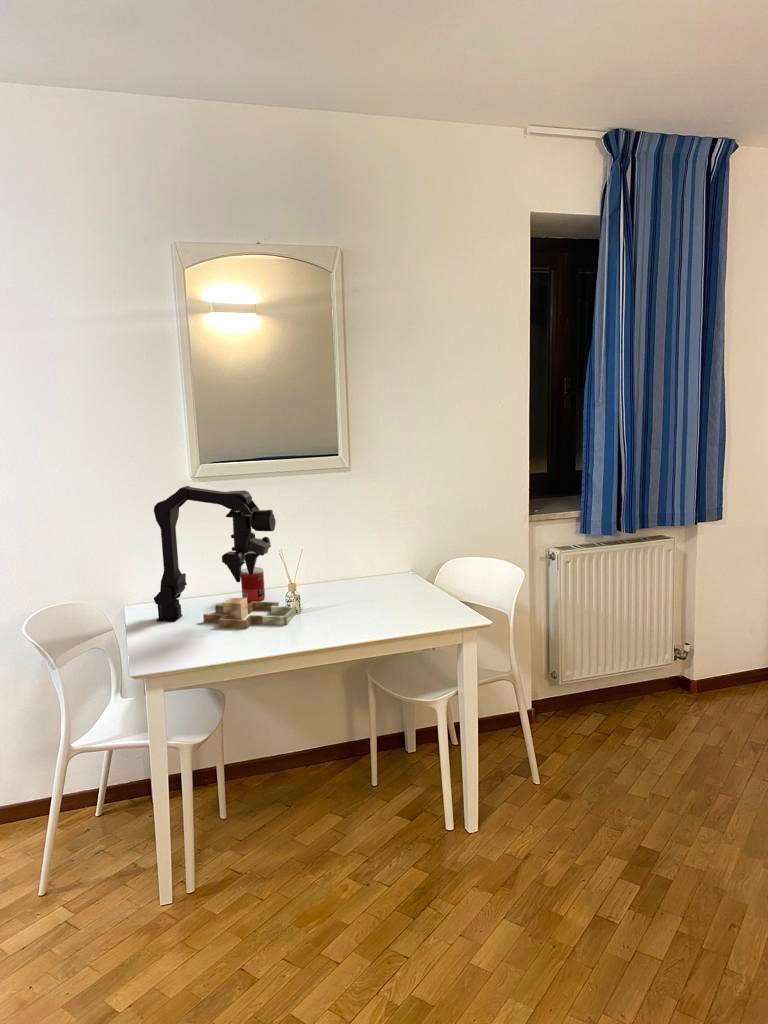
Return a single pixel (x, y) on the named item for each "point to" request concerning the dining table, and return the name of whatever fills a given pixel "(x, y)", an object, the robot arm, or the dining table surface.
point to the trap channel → (253, 619)
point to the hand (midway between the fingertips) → (244, 578)
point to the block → (236, 608)
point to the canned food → (253, 585)
